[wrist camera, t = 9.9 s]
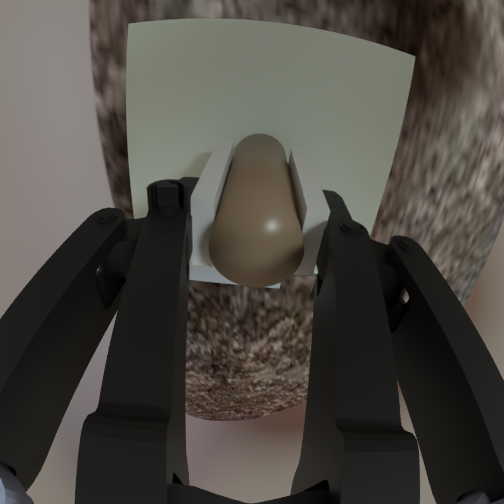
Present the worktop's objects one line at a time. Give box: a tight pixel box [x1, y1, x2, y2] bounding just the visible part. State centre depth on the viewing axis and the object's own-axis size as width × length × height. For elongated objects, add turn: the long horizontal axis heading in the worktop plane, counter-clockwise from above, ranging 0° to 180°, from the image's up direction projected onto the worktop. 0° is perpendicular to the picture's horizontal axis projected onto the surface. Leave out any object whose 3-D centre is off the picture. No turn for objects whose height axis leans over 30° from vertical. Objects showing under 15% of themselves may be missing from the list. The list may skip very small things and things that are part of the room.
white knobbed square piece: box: [126, 18, 415, 288], centre depth 15 cm, size 16×16×13 cm
